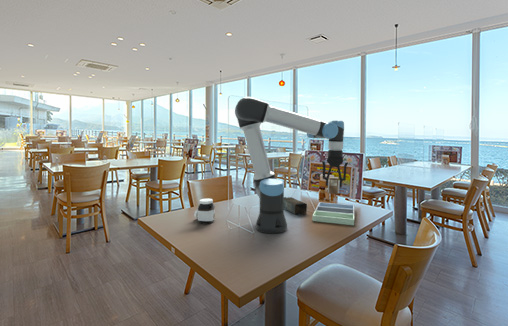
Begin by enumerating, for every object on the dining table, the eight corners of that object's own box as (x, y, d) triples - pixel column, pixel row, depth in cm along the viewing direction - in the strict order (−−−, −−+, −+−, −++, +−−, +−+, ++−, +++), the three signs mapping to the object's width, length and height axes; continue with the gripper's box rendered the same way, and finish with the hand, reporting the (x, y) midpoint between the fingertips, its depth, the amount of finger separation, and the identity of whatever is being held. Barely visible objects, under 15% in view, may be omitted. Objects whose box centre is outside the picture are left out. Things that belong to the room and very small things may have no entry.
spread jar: (210, 225, 136) (209, 202, 135) (189, 223, 138) (188, 201, 137) (217, 218, 148) (217, 197, 147) (198, 216, 150) (198, 196, 149)
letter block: (328, 193, 145) (329, 177, 144) (329, 191, 149) (329, 176, 149) (337, 194, 144) (338, 178, 143) (337, 192, 148) (338, 177, 147)
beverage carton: (291, 205, 173) (291, 195, 173) (307, 214, 155) (307, 203, 155) (280, 207, 171) (280, 196, 170) (295, 215, 153) (295, 204, 152)
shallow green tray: (315, 215, 151) (315, 210, 151) (317, 211, 160) (317, 206, 160) (354, 219, 144) (354, 214, 144) (354, 214, 153) (354, 209, 153)
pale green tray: (312, 220, 142) (312, 215, 142) (314, 216, 151) (314, 210, 150) (354, 225, 135) (354, 219, 135) (354, 219, 144) (354, 214, 143)
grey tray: (317, 210, 161) (317, 205, 160) (319, 207, 169) (319, 202, 169) (354, 214, 154) (354, 209, 153) (354, 210, 162) (354, 205, 162)
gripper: (352, 149, 145) (350, 192, 148) (319, 148, 151) (317, 189, 153) (353, 150, 138) (350, 195, 141) (318, 149, 144) (316, 192, 146)
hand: (333, 192), depth 147 cm, fingers closed on letter block, 4 cm apart
